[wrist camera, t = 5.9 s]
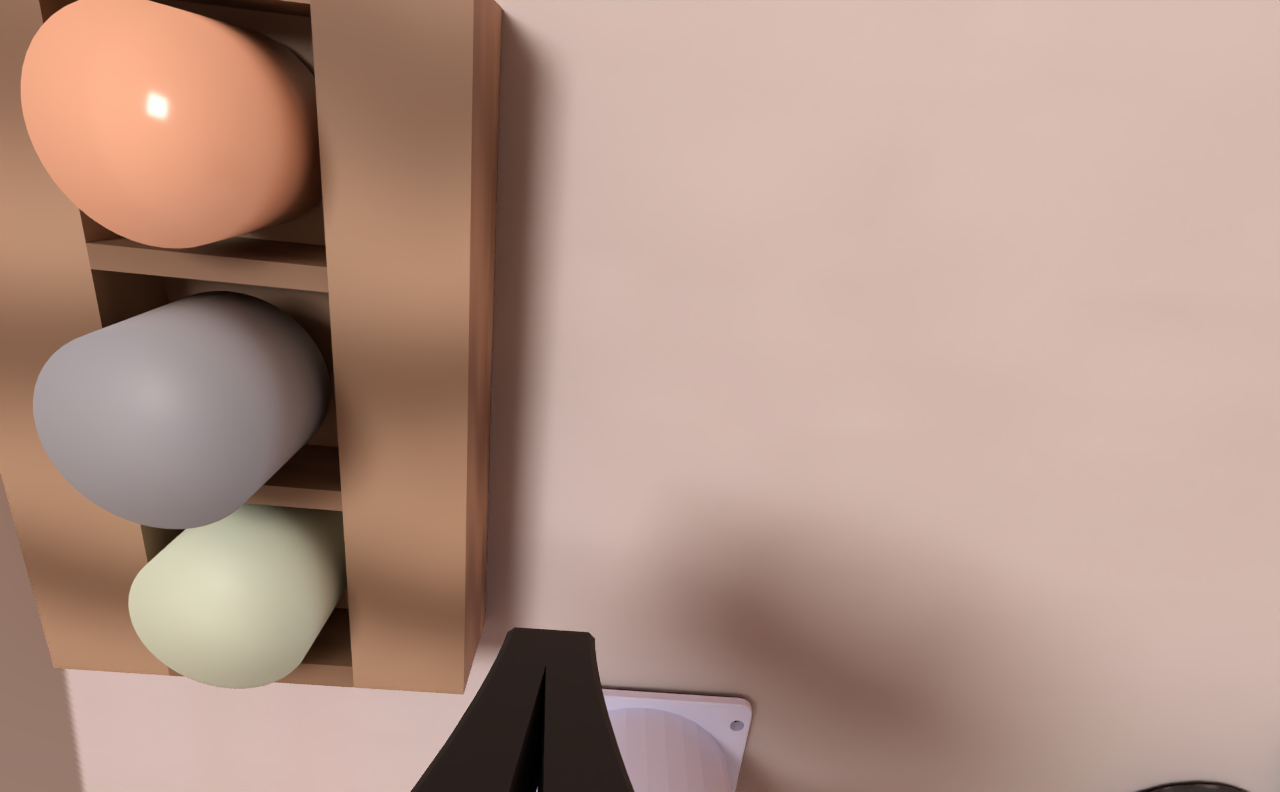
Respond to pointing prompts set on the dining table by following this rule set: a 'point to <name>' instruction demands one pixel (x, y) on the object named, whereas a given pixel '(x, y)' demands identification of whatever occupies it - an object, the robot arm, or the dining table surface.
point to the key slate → (182, 407)
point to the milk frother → (1197, 788)
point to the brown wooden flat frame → (326, 309)
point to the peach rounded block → (171, 122)
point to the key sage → (242, 594)
